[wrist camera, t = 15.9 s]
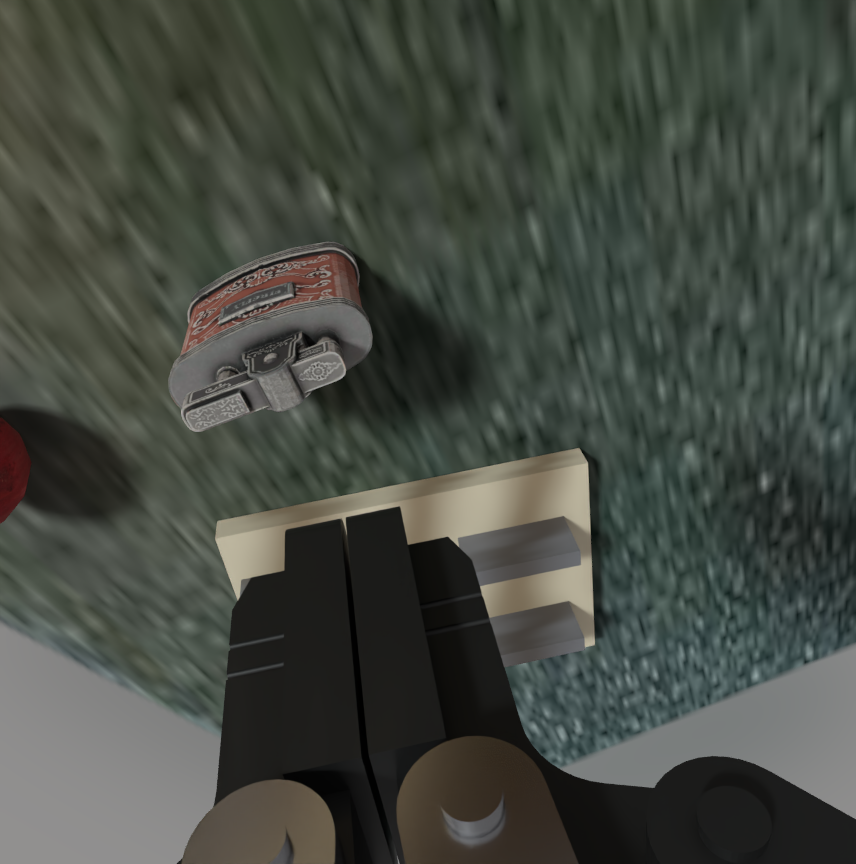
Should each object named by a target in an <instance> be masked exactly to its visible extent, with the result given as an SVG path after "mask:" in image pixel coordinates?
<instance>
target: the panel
mask: <svg viewBox="0 0 856 864" xmlns="http://www.w3.org/2000/svg"><path fill="white" fill-rule="evenodd" d="M398 506H400V508H401V513H402V518H403V523H404V528H405V533H406V538H407V543H408V545H409V544H414V543H419V542H424V541H429V540H434V539H439V538H443V537H449V538H450V539H451V540H452V541H453V542H454V543H455V544H456V545H457V546H458V547H459V548H460V549H461V550H462V551H463V552H465V553H466V554H467V555H468V556H469V557H470V558H471V559H472V561H473V565H474V568H475V571H476V575H477V578H478V581H479V585H480V588H481V592H482V596H483V598H484V601H485V605H486V608H487V611H488V615H489V619H490V623H491V625H492V628H493V631H494V635H495V638H496V641H497V645H498V648H499V651H500V655H501V658H502V661H503V665H504V667H508V666H513V665H517V664H522V663H527V662H531V661H536V660H540V659H545V658H550V657H554V656H559V655H564V654H568V653H573V652H577V651H582V650H585V647H588V646H592V645H595V637H594V610H593V583H592V556H591V530H590V503H589V476H588V462H587V460H586V459H585V457H584V455H583V453H582V452H581V450H580V448H576V449H572V450H567V451H562V452H557V453H552V454H547V455H542V456H537V457H532V458H527V459H522V460H517V461H512V462H507V463H502V464H497V465H492V466H487V467H483V468H478V469H473V470H468V471H463V472H458V473H453V474H448V475H443V476H438V477H433V478H428V479H423V480H418V481H413V482H408V483H403V484H399V485H394V486H389V487H384V488H379V489H374V490H369V491H364V492H359V493H354V494H349V495H344V496H339V497H334V498H329V499H324V500H319V501H314V502H310V503H305V504H300V505H295V506H290V507H285V508H280V509H275V510H270V511H265V512H260V513H255V514H250V515H245V516H240V517H235V518H230V519H225V520H221V521H217V528H216V536H215V540H216V542H217V545H218V548H219V551H220V553H221V556H222V559H223V561H224V564H225V567H226V570H227V572H228V575H229V578H230V580H231V583H232V586H233V589H234V591H235V594H236V597H237V600H238V599H239V598H240V596H241V594H242V593H243V591H244V589H245V587H246V586H247V584H248V582H249V581H250V579H251V577H256V576H261V575H265V574H270V573H275V572H280V571H284V562H285V531H286V530H287V529H291V528H296V527H301V526H306V525H311V524H316V523H321V522H326V521H331V520H335V519H340V518H342V520H343V523H344V526H345V530H346V517H349V516H354V515H359V514H364V513H369V512H374V511H378V510H383V509H388V508H393V507H398ZM346 533H347V530H346Z"/></svg>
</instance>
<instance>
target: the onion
mask: <svg viewBox="0 0 856 864" xmlns="http://www.w3.org/2000/svg"><path fill="white" fill-rule="evenodd" d="M30 467H31V460H30V458H29V455H28V452H27V450H26V447H25V445H24V442H23V440H22V438H21V436H20V434H19V433H18V432H17V431H16V430H15V429H14V428H13V427H12V426H10V425H9V424H8V423H7V422H6V421H5V420H4V419H3V418H1V417H0V523H2V522H3V521H5V519H6V518H7V517H8V516H9V515H10V513H11V512H12V511H13V510H14V508H15V507H16V506H17V505H18V503H19V502H20V501H21V499H22V498H23V497H24V495H25V492H26V487H27V483H28V477H29V472H30Z"/></svg>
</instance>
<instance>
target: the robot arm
mask: <svg viewBox="0 0 856 864" xmlns="http://www.w3.org/2000/svg"><path fill="white" fill-rule="evenodd" d="M346 530H347V533H346ZM346 530H345V526H344V523H343V520H342V518H340V519H335V520H331V521H326V522H321V523H316V524H311V525H306V526H301V527H296V528H291V529H287V530H286V531H285V562H284V571H280V572H275V573H270V574H265V575H261V576H256V577H251V579H250V581H249V582H248V584H247V586H246V587H245V589H244V591H243V593H242V594H241V596H240V598H239V599H238V601H237V603H236V605H235V606H234V608H233V610H232V620H231V631H230V643H229V645H230V651H229V654H228V665H227V675H228V680H226V688H225V700H224V711H223V723H222V734H221V746H220V757H219V768H218V780H217V792H216V797H215V803H214V806H213V808H212V809H211V810H210V811H209V812H208V813H207V814H206V815H205V816H204V818H203V819H202V820H201V821H200V822H199V824H198V825H197V827H196V828H195V830H194V832H193V833H192V835H191V837H190V839H189V841H188V843H187V846H186V848H185V851H184V855H183V858H182V859H181V860H180V861H179V862H178V863H177V864H398V860H397V856H398V859H399V863H400V864H856V819H854V818H852V817H850V816H849V815H847V814H845V813H843V812H842V811H840V810H838V809H836V808H834V807H833V806H831V805H829V804H827V803H825V802H823V801H822V800H820V799H818V798H817V797H815V796H813V795H811V794H809V793H808V792H806V791H804V790H802V789H800V788H799V787H797V786H795V785H793V784H791V783H790V782H788V781H786V780H784V779H782V778H780V777H779V776H777V775H775V774H774V773H772V772H770V771H768V770H766V769H764V768H762V767H760V766H758V765H756V764H752V763H750V762H746V761H743V760H740V759H735V758H730V757H718V756H711V757H702V758H696V759H693V760H689V761H686V762H684V763H682V764H680V765H677V766H675V767H674V768H673V769H672V770H670V771H669V772H667V773H666V774H665V775H664V776H663V777H662V778H661V779H660V781H659V782H658V783H657V785H656V786H655V788H647V787H637V786H626V785H615V784H605V783H599V782H593V781H588V780H585V779H581V778H578V777H575V776H572V775H571V774H568V773H566V772H564V771H562V770H560V769H559V768H557V767H556V766H554V765H552V764H551V763H550V762H548V761H547V760H546V759H545V758H544V757H543V756H541V755H540V754H539V752H538V751H537V750H536V749H535V748H534V747H533V745H532V744H531V743H530V741H529V739H528V738H527V736H526V734H525V732H524V729H523V727H522V724H521V721H520V718H519V715H518V711H517V708H516V705H515V701H514V698H513V695H512V691H511V688H510V685H509V681H508V678H507V675H506V671H505V668H504V665H503V661H502V658H501V655H500V651H499V648H498V645H497V641H496V638H495V635H494V631H493V628H492V625H491V623H490V619H489V615H488V611H487V608H486V605H485V601H484V598H483V596H482V592H481V588H480V585H479V581H478V578H477V575H476V571H475V568H474V565H473V561H472V559H471V558H470V557H469V556H468V555H467V554H466V553H465V552H463V551H462V550H461V549H460V548H459V547H458V546H457V545H456V544H455V543H454V542H453V541H452V540H451V539H450V538H449V537H443V538H439V539H434V540H429V541H424V542H419V543H414V544H409V545H408V543H407V538H406V533H405V528H404V523H403V518H402V513H401V508H400V506H398V507H393V508H388V509H383V510H378V511H374V512H369V513H364V514H359V515H354V516H349V517H346Z"/></svg>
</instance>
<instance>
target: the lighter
mask: <svg viewBox="0 0 856 864" xmlns="http://www.w3.org/2000/svg"><path fill="white" fill-rule="evenodd" d="M359 278H360V276H359V271H358V267H357V262H356V260H355V258H354V256H353V255H352V253H351V252H350V251H349V250H348V249H347V248H346V247H345V246H343V245H341V244H338V243H336V242H323V243H318V244H312V245H307V246H301V247H296V248H291V249H288V250H285V251H281V252H278V253H275V254H271V255H268V256H265V257H262V258H258V259H256V260H254V261H252V262H250V263H248V264H246V265H243V266H241V267H239V268H237V269H235V270H233V271H231V272H229V273H226V274H225V275H223V276H222V277H220V278H218V279H217V280H215V281H214V282H212V283H211V284H209V285H207V286H206V287H204V288H203V289H201V290H199V291H198V292H197V293H196V294H195V295H194V296H193V298H192V300H191V303H190V306H189V309H188V323H189V326H188V330H187V333H186V337H185V341H184V344H183V348H182V352H181V355H180V357H179V358H178V359H177V360H176V361H175V362H174V364H173V367H172V370H171V373H170V376H169V391H170V394H171V396H172V399H173V401H174V402H175V403H176V404H177V405H178V407H179V408H180V409H181V416H182V418H183V421H184V422H185V424H186V425H187V426H188V428H189V429H191V430H192V431H196V432H200V431H204V430H207V429H210V428H213V427H215V426H218V425H221V424H223V423H226V422H229V421H231V420H234V419H237V418H239V417H242V416H245V415H247V414H250V413H253V412H255V411H258V410H261V409H263V408H266V409H267V410H273V411H275V412H282V411H285V410H288V409H291V408H293V407H296V406H297V405H299V404H300V403H301V402H303V400H304V399H305V398H306V397H307V396H308V395H310V394H311V392H312V390H314V389H317V388H319V387H322V386H325V385H327V384H330V383H333V382H335V381H338V380H340V379H341V378H343V376H344V375H345V373H346V370H348V369H350V368H351V367H353V366H355V365H357V364H358V363H360V362H361V361H362V360H363V359H364V358H365V357H366V356H367V355H368V353H369V351H370V349H371V346H372V337H373V336H372V331H371V327H370V323H369V318H368V317H367V315H366V313H365V312H364V310H363V308H362V305H361V300H360V295H359V290H358V286H359Z"/></svg>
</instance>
